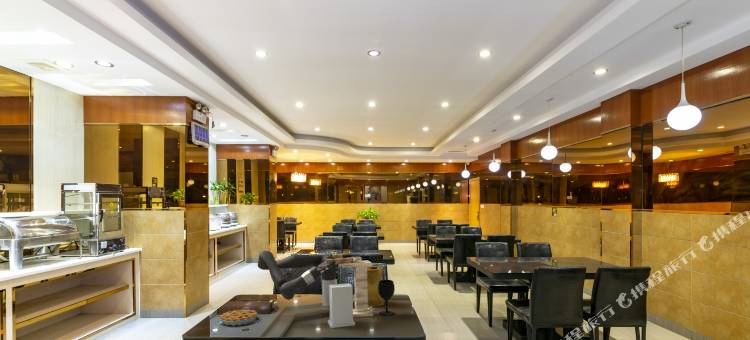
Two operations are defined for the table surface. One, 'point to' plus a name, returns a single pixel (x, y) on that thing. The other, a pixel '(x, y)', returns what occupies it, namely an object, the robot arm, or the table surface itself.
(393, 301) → the table surface
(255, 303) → the table surface
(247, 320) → the pie
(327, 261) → the peg
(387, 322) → the table surface
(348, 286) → the white flanged block
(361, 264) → the square pedestal column
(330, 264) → the robot arm
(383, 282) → the wine glass
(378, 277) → the pitcher
